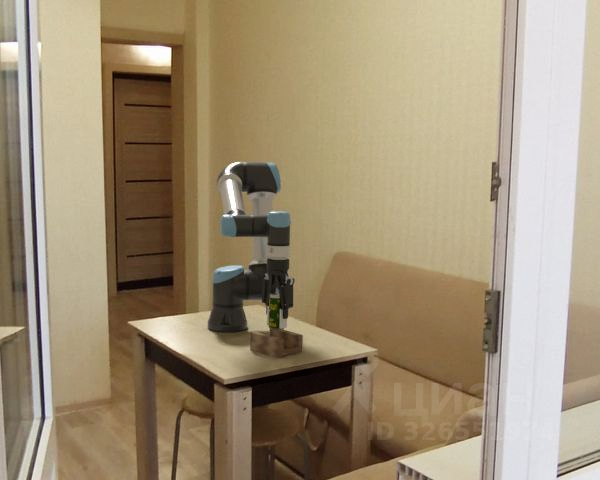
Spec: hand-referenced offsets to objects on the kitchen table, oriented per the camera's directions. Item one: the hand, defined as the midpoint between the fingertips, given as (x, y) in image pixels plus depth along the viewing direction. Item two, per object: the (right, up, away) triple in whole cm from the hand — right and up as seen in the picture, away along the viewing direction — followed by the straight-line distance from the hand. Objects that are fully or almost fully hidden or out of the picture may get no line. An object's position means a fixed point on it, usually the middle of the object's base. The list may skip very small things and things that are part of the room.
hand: (276, 326), depth 231 cm
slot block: (0, -9, +1) cm, 9 cm away
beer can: (0, -1, 0) cm, 1 cm away
